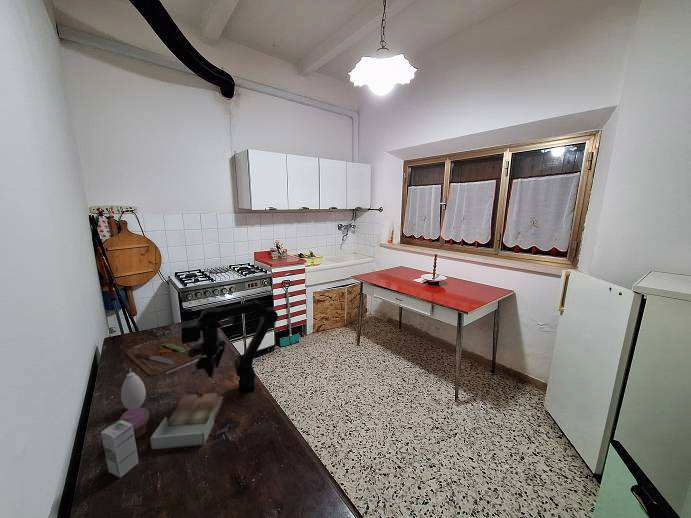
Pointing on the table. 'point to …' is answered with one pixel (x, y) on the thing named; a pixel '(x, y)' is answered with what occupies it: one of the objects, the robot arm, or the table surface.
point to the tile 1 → (187, 402)
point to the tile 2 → (208, 401)
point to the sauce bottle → (133, 391)
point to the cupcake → (136, 420)
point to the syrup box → (120, 448)
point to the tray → (181, 434)
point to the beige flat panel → (194, 414)
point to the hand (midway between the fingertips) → (213, 372)
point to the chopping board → (161, 355)
